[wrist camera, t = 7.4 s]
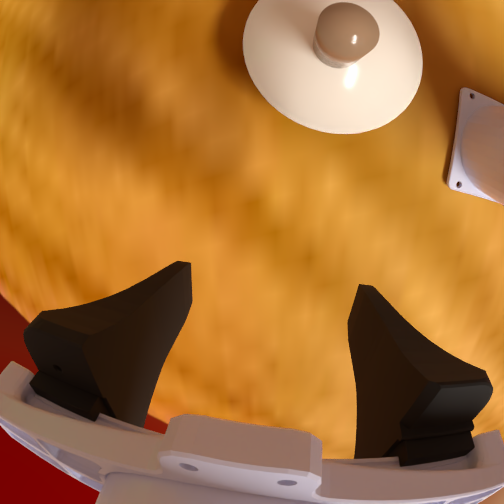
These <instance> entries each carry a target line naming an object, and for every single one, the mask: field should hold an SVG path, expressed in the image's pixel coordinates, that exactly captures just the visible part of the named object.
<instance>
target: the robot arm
mask: <svg viewBox="0 0 504 504" xmlns="http://www.w3.org/2000/svg"><path fill="white" fill-rule="evenodd" d="M470 93H471V94H472V96H473V98H472V99H471V98H470ZM458 181H459V186H458V187H457V186H456V184H457V182H458ZM447 186H448V187H449V188H450V189H452V190H456V191H460V192H464V193H467V194H471V195H474V196H478V197H481V198H485V199H488V200H491V201H494V202H498V203H500V204H502V205H503V206H504V104H502V103H500V102H498V101H496V100H494V99H492V98H489V97H487V96H485V95H483V94H481V93H478V92H476V91H474V90H472V89H469V88H466V87H464V88H461V90H460V97H459V108H458V117H457V125H456V132H455V139H454V145H453V151H452V157H451V162H450V168H449V173H448V178H447ZM191 304H192V280H191V263H189V262H182V261H176V262H174V263H172V264H171V265H169V266H167V267H165V268H164V269H162V270H160V271H159V272H157V273H155V274H154V275H152V276H150V277H148V278H147V279H145V280H143V281H141V282H139V283H137V284H135V285H134V286H132V287H130V288H128V289H126V290H123V291H121V292H119V293H116V294H114V295H112V296H109V297H106V298H103V299H100V300H97V301H94V302H91V303H87V304H83V305H79V306H74V307H69V308H64V309H56V310H48V311H42V312H41V313H40V314H39V315H38V316H37V317H36V318H35V319H34V320H33V321H32V322H31V323H30V324H29V325H28V327H27V328H26V329H25V330H24V334H23V335H24V341H25V344H26V347H27V349H28V351H29V352H30V355H31V357H32V359H33V360H34V362H35V364H36V366H37V368H38V370H39V371H38V372H37V373H36V375H34V374H33V373H32V372H30V371H29V370H28V369H26V368H24V367H23V366H21V365H19V364H17V363H15V362H13V361H11V363H10V364H9V365H8V366H7V367H6V369H5V370H4V371H3V372H2V374H1V375H0V425H1V426H2V427H3V429H5V431H6V432H7V433H8V434H9V435H10V436H11V437H12V438H14V439H15V440H17V441H18V442H19V443H21V444H22V445H24V446H25V447H27V448H28V449H29V450H31V451H32V452H34V453H35V454H37V455H38V456H40V457H41V458H43V459H44V460H46V461H47V462H49V463H50V464H52V465H54V466H55V467H57V468H59V469H60V470H62V471H63V472H65V473H67V474H68V475H70V476H72V477H74V478H75V479H77V480H79V481H81V482H82V483H84V484H86V485H88V486H90V487H92V488H94V489H96V490H98V491H100V494H99V496H98V499H97V501H96V504H478V503H479V502H481V501H483V500H484V499H486V498H487V497H489V496H490V495H492V494H493V493H495V492H497V491H498V490H500V489H501V488H503V487H504V444H503V441H502V437H501V434H500V432H499V430H494V431H490V432H486V433H482V434H479V435H477V436H475V437H473V438H472V435H471V432H470V431H472V430H473V429H474V424H473V421H472V420H473V419H474V418H475V417H476V416H477V415H478V413H479V412H480V411H481V410H482V409H483V408H484V407H485V405H486V404H487V403H488V401H489V400H490V398H491V395H492V393H493V387H492V385H491V382H490V380H489V378H488V376H487V374H486V371H485V370H482V369H480V368H478V367H475V366H473V365H471V364H468V363H466V362H464V361H462V360H460V359H458V358H456V357H455V356H453V355H451V354H449V353H448V352H446V351H444V350H443V349H441V348H440V347H438V346H437V345H435V344H434V343H433V342H431V341H430V340H428V339H427V338H426V337H425V336H423V335H422V334H421V333H420V332H418V331H417V330H416V329H415V328H414V327H413V326H412V325H411V324H409V323H408V322H407V321H406V320H405V319H404V318H403V317H402V316H401V315H400V314H399V313H398V312H397V311H396V310H395V309H394V308H393V307H392V305H391V304H390V303H389V302H388V301H387V300H386V299H385V298H384V297H383V296H382V295H381V294H380V293H379V292H378V291H377V290H376V289H375V288H374V287H373V286H371V285H362V284H359V286H358V289H357V293H356V296H355V300H354V303H353V306H352V309H351V313H350V316H349V319H348V341H349V347H350V353H351V359H352V364H353V370H354V376H355V382H356V392H357V429H356V445H355V455H354V459H322V441H321V440H320V439H318V438H317V437H315V436H314V435H312V434H311V433H309V432H305V431H301V430H296V429H291V428H281V427H272V426H264V425H256V424H249V423H243V422H236V421H230V420H225V419H219V418H214V417H209V416H204V415H194V414H184V415H180V416H177V417H174V418H171V420H170V422H169V425H168V428H167V430H166V433H165V435H164V434H160V433H157V432H154V431H150V430H147V429H144V424H145V419H146V415H147V412H148V409H149V405H150V402H151V398H152V395H153V392H154V389H155V386H156V383H157V380H158V377H159V375H160V372H161V369H162V366H163V364H164V362H165V359H166V357H167V355H168V353H169V351H170V350H171V348H172V346H173V344H174V342H175V340H176V338H177V336H178V334H179V332H180V330H181V329H182V327H183V325H184V323H185V321H186V318H187V316H188V313H189V310H190V307H191Z"/></svg>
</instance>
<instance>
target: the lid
mask: <svg viewBox="0 0 504 504" xmlns="http://www.w3.org/2000/svg"><path fill="white" fill-rule="evenodd" d="M243 53H244V58H245V63H246V66H247V69H248V72H249V74H250V76H251V78H252V80H253V82H254V84H255V86H256V87H257V89H258V90H259V91H260V93H261V94H262V95H263V96H264V98H265V99H266V100H267V101H268V102H269V103H270V104H271V105H272V106H273V107H274V108H276V109H277V110H278V111H279V112H281V113H282V114H284V115H285V116H286V117H288V118H290V119H291V120H293V121H295V122H297V123H299V124H301V125H304V126H306V127H309V128H311V129H315V130H318V131H322V132H328V133H335V134H353V133H361V132H366V131H370V130H373V129H376V128H379V127H381V126H383V125H385V124H387V123H389V122H390V121H392V120H393V119H395V118H396V117H397V116H398V115H400V114H401V113H402V112H403V111H404V110H405V109H406V108H407V106H408V105H409V104H410V103H411V101H412V99H413V98H414V96H415V94H416V92H417V90H418V87H419V84H420V81H421V76H422V67H423V60H422V51H421V46H420V42H419V39H418V36H417V33H416V31H415V29H414V27H413V25H412V23H411V22H410V20H409V19H408V17H407V16H406V14H405V13H404V12H403V10H402V9H401V8H400V7H399V6H398V5H397V4H396V3H395V2H394V1H393V0H259V1H258V2H257V3H256V5H255V6H254V8H253V9H252V11H251V12H250V15H249V17H248V19H247V22H246V25H245V29H244V35H243Z"/></svg>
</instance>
